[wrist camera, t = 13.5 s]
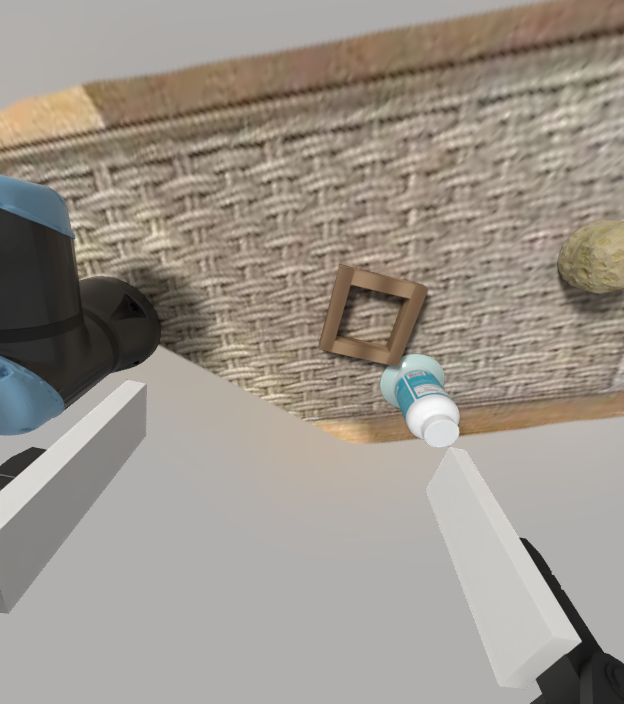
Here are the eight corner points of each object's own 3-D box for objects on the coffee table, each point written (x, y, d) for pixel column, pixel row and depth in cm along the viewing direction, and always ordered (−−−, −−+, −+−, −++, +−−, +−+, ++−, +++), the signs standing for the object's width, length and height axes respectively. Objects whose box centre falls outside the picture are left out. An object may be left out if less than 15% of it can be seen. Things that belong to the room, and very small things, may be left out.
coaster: (372, 401, 56) (372, 402, 55) (392, 347, 51) (392, 348, 51) (429, 413, 57) (430, 414, 56) (454, 361, 52) (455, 362, 52)
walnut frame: (319, 342, 51) (319, 349, 49) (339, 264, 46) (341, 267, 43) (393, 359, 52) (397, 366, 50) (422, 284, 47) (428, 288, 44)
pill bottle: (410, 408, 56) (436, 464, 43) (383, 384, 54) (401, 436, 41) (444, 382, 53) (481, 434, 41) (416, 356, 51) (446, 402, 39)
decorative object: (543, 233, 47) (548, 273, 41) (636, 189, 39) (657, 231, 34) (568, 275, 50) (576, 317, 44) (658, 242, 42) (681, 288, 37)
